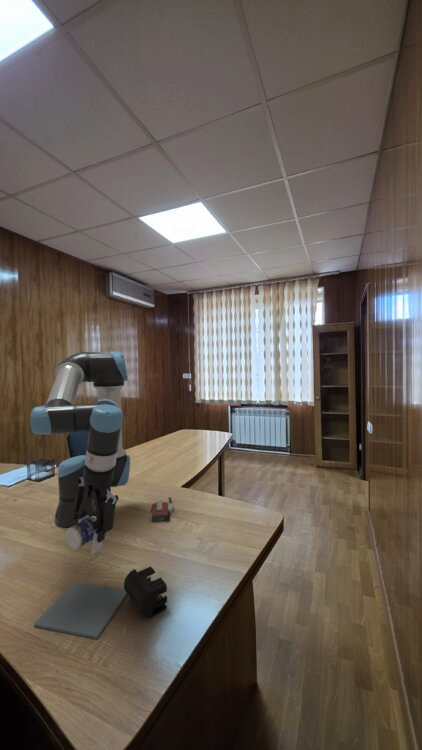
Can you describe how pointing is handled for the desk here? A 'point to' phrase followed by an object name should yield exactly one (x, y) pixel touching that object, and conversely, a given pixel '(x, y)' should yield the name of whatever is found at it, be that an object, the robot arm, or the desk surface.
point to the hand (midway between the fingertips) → (88, 544)
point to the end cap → (146, 592)
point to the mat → (83, 610)
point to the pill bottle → (81, 532)
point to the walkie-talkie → (161, 511)
